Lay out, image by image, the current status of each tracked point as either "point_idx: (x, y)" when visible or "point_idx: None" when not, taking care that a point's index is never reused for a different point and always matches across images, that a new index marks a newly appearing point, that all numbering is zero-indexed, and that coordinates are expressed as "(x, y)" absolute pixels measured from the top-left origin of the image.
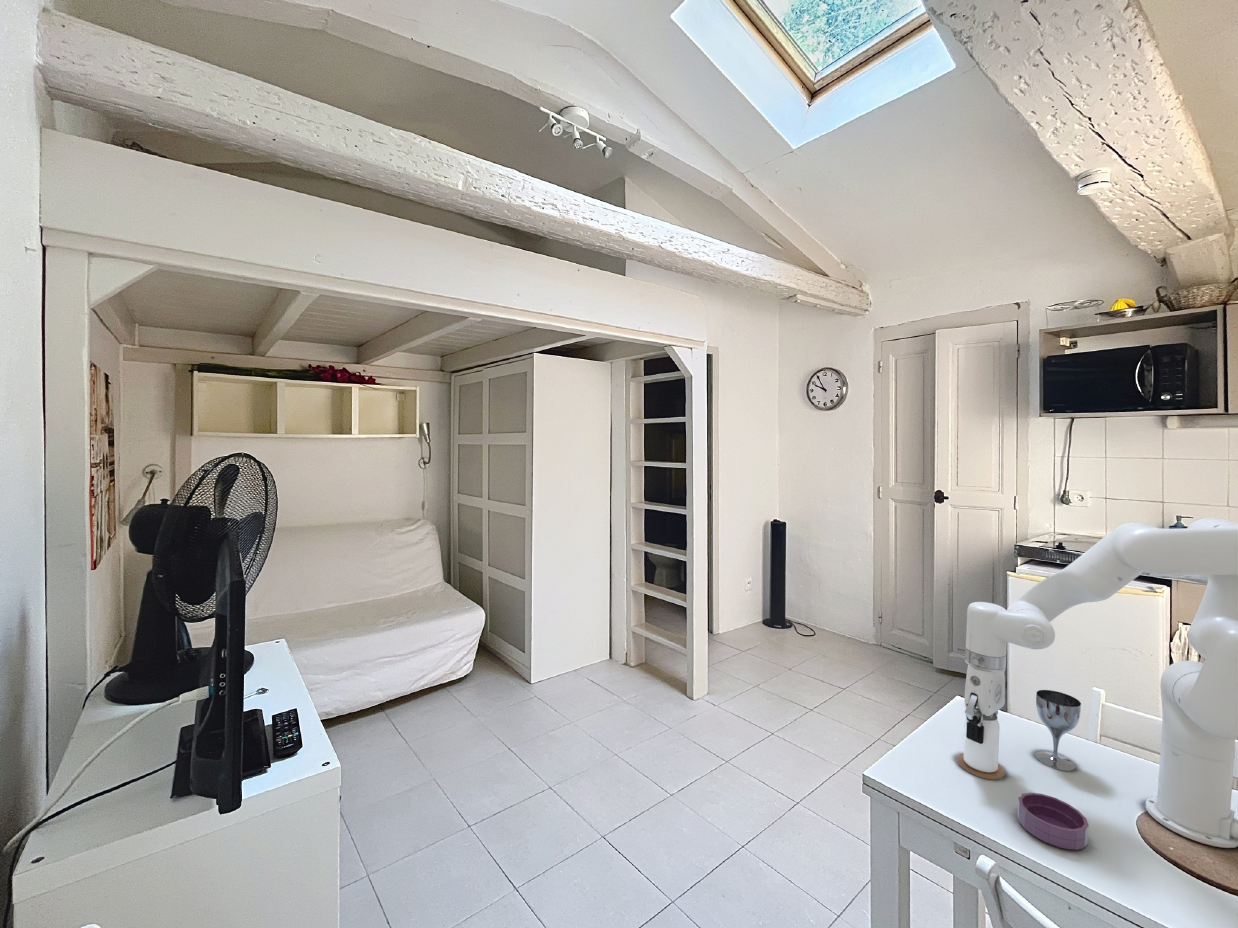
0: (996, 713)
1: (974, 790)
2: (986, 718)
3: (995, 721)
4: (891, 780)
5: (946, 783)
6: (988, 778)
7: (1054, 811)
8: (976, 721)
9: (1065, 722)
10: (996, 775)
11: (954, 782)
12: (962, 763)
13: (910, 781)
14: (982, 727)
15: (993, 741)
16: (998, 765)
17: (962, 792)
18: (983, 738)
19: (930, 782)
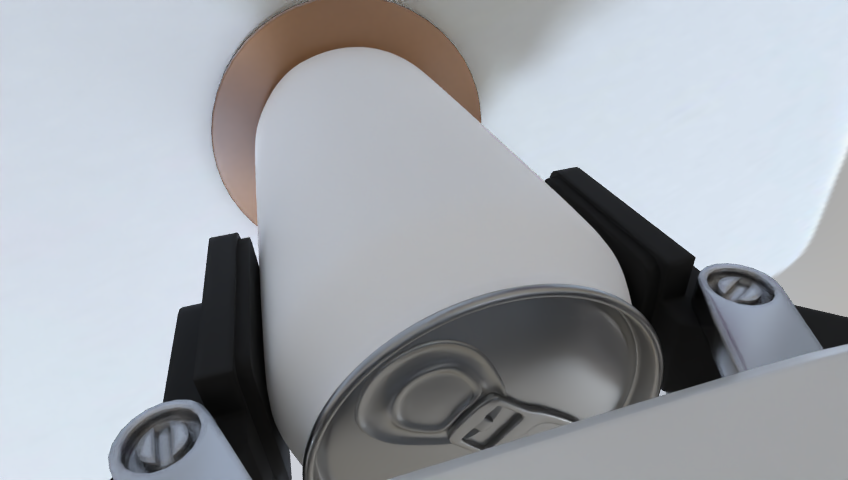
0: (170, 428)
1: (627, 19)
2: (545, 357)
3: (514, 272)
4: (785, 234)
5: (664, 128)
6: (448, 39)
7: None
8: (829, 325)
9: None
10: (378, 25)
11: (628, 114)
12: None
13: (749, 203)
14: (687, 257)
15: (481, 132)
16: (236, 84)
17: (688, 44)
18: (581, 188)
19: (704, 164)
